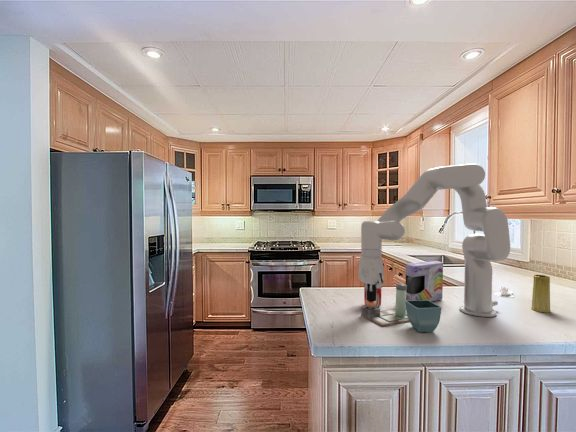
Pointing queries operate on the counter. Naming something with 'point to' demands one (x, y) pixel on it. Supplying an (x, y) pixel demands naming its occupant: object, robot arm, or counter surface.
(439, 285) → the cake pan box
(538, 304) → the vase
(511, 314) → the counter surface
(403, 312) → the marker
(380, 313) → the brown flat frame
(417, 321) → the flower pot
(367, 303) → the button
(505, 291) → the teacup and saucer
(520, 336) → the counter surface
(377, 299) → the soda can
